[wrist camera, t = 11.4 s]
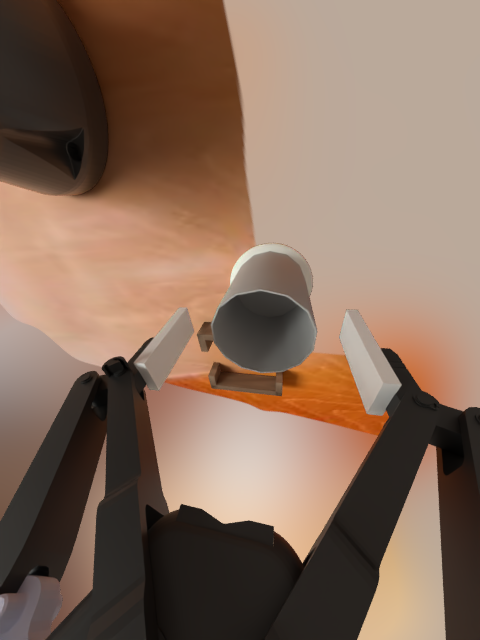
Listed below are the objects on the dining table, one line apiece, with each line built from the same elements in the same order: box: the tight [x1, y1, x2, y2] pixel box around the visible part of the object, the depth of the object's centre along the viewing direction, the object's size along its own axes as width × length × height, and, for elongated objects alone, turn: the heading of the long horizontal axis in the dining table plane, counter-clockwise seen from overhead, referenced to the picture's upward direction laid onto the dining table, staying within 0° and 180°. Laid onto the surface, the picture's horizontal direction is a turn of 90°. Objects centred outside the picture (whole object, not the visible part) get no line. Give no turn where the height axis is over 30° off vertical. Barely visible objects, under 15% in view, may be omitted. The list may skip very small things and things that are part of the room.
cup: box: [211, 251, 317, 373], centre depth 19 cm, size 8×8×10 cm
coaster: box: [230, 243, 313, 297], centre depth 24 cm, size 10×10×1 cm
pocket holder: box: [197, 322, 283, 396], centre depth 30 cm, size 12×12×3 cm
